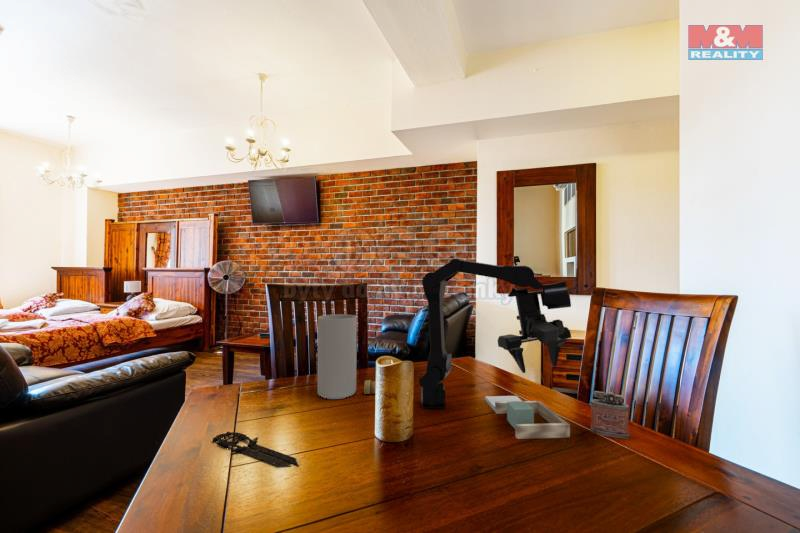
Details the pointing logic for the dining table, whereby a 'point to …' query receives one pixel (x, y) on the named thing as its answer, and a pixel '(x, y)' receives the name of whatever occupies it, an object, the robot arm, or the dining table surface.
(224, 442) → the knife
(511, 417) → the cube
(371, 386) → the gavel
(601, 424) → the lighter
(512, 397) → the ceramic tile
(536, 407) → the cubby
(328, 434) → the dining table surface
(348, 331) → the cylinder vase
